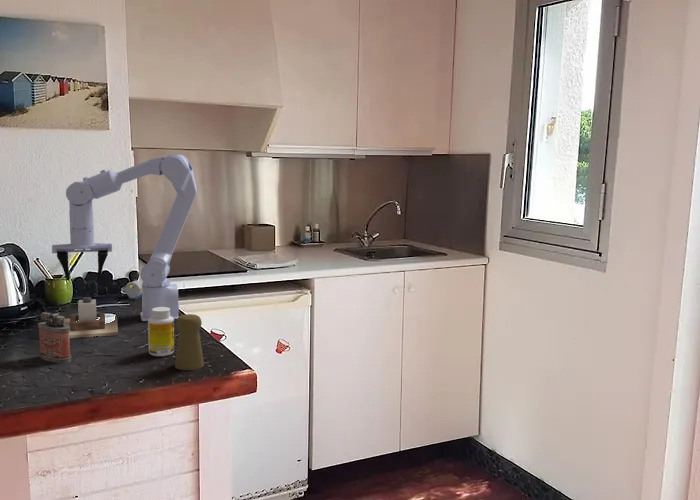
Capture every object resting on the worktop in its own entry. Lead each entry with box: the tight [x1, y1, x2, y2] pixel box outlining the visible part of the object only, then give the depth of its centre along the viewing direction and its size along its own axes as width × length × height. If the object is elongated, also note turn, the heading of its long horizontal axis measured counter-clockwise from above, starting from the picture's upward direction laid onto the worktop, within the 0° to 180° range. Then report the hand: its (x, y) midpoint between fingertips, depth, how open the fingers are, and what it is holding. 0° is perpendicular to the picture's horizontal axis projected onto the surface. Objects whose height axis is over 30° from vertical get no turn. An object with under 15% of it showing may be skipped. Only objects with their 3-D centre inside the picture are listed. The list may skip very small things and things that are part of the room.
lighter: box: [37, 311, 72, 364], centre depth 143 cm, size 8×3×10 cm, turn 65°
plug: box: [77, 296, 97, 321], centre depth 167 cm, size 4×5×7 cm
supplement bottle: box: [147, 307, 175, 357], centre depth 149 cm, size 6×6×10 cm
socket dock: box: [64, 311, 119, 339], centre depth 167 cm, size 14×16×3 cm
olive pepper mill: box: [174, 313, 205, 371], centre depth 141 cm, size 6×6×11 cm
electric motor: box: [121, 280, 143, 300], centre depth 200 cm, size 7×5×5 cm
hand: (83, 279), depth 176 cm, fingers open, 7 cm apart
